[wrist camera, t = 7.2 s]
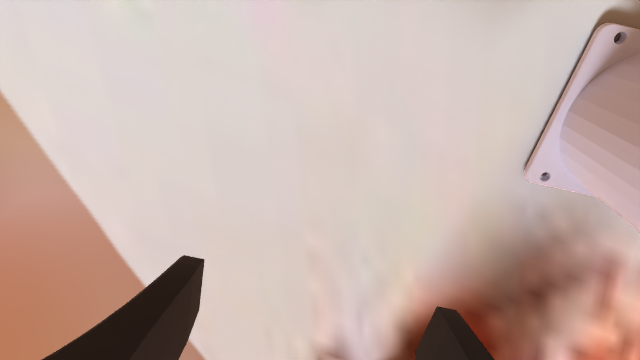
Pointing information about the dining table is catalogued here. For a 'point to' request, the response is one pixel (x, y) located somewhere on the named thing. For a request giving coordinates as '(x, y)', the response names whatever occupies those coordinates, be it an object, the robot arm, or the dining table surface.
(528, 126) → the dining table surface
